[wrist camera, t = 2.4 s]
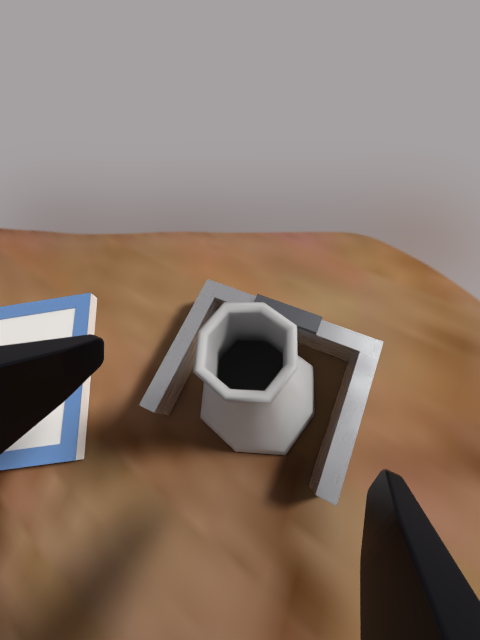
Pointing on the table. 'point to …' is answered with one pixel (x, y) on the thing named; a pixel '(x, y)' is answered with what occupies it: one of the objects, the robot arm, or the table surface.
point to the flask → (253, 378)
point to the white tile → (71, 416)
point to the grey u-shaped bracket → (310, 333)
